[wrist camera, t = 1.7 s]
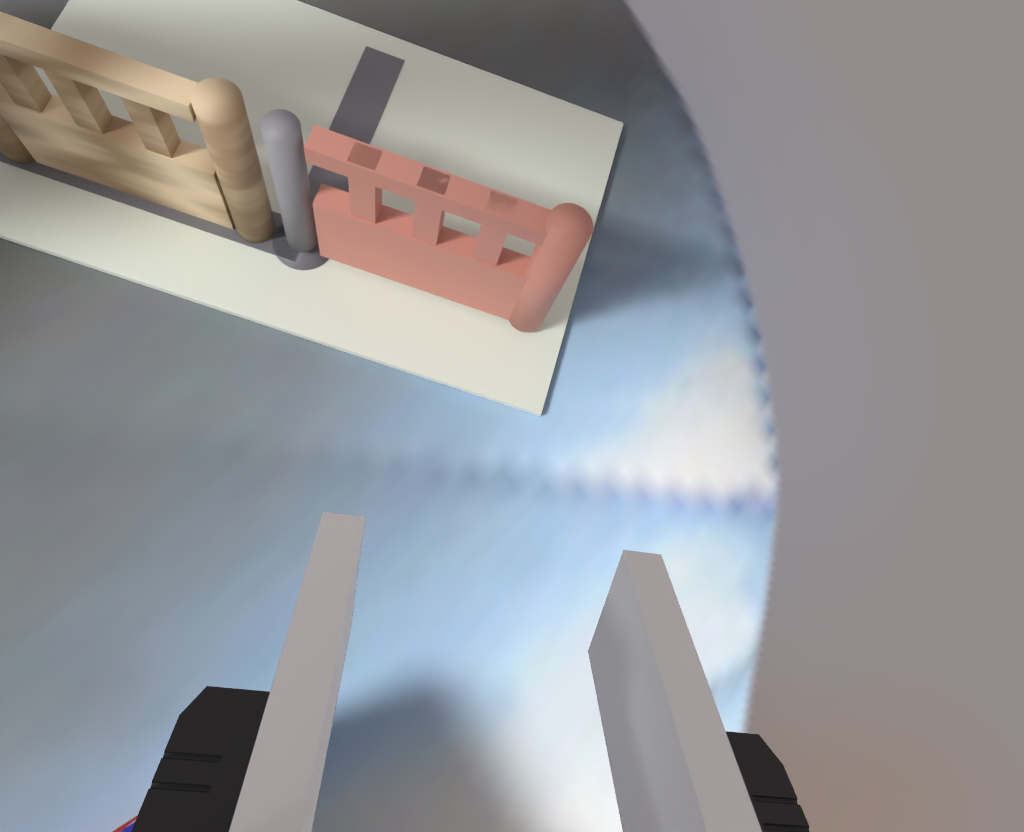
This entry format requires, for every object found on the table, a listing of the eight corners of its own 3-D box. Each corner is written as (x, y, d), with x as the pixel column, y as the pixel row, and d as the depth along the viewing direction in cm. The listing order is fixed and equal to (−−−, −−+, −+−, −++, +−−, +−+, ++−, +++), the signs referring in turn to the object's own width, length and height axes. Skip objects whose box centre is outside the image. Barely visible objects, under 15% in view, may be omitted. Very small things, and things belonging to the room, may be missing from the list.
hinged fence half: (280, 249, 38) (250, 132, 29) (294, 218, 38) (269, 93, 29) (537, 337, 39) (587, 251, 30) (547, 305, 40) (598, 212, 30)
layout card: (-62, 217, 36) (-67, 212, 35) (115, -63, 42) (112, -70, 42) (539, 416, 39) (541, 414, 38) (621, 127, 45) (624, 122, 44)
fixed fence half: (-6, 155, 37) (-139, -6, 27) (13, 125, 37) (-111, -43, 28) (267, 249, 38) (231, 126, 29) (281, 218, 39) (250, 88, 29)
